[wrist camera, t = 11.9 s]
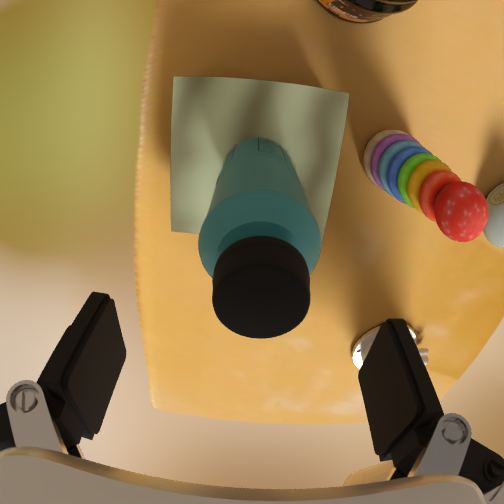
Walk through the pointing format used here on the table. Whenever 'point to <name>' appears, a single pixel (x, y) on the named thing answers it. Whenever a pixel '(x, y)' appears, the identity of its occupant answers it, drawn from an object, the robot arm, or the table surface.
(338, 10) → the supplement container
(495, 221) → the grey flask
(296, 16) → the table surface
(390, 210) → the table surface
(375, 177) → the stacking toy
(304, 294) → the beverage bottle
